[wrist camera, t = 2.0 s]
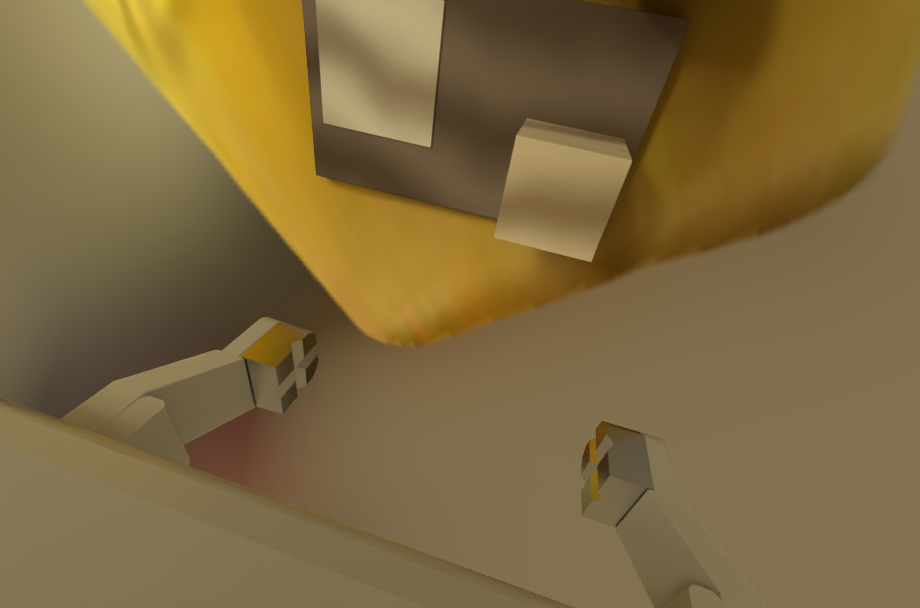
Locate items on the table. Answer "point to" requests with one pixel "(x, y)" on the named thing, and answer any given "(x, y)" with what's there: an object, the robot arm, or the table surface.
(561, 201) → the block
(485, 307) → the table surface
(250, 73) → the table surface
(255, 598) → the robot arm
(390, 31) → the board
